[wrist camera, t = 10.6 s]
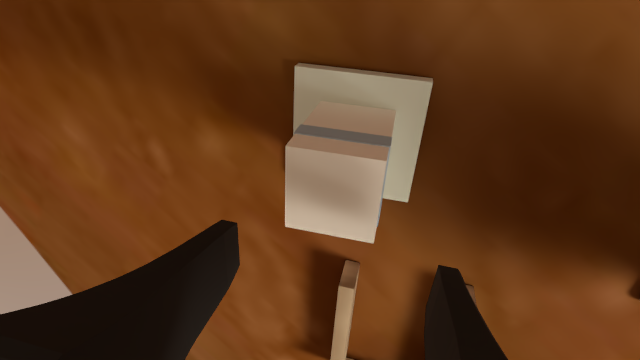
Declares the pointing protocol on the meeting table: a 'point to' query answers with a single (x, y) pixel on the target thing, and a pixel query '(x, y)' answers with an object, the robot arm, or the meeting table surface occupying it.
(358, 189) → the block
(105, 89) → the meeting table surface
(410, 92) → the stand tile
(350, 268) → the shelf bay
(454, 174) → the meeting table surface
